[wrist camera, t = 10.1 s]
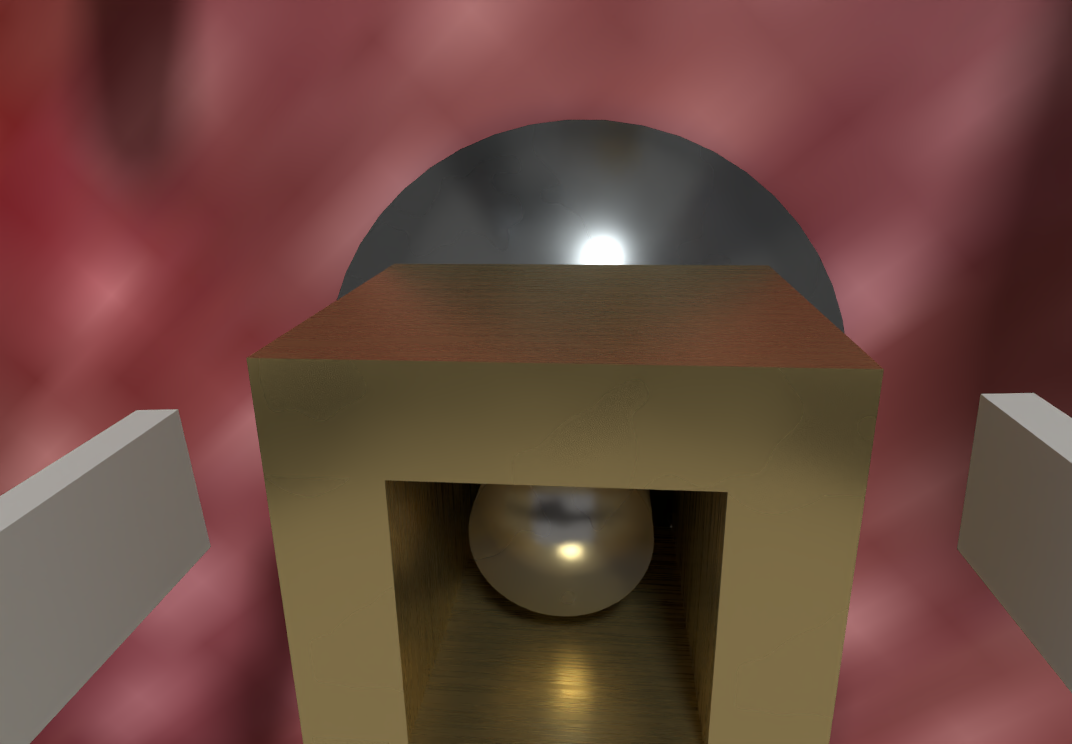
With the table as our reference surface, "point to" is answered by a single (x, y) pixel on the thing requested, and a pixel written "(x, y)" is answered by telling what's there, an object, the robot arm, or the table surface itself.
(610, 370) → the collar
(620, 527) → the hub
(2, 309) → the table surface
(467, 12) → the table surface
